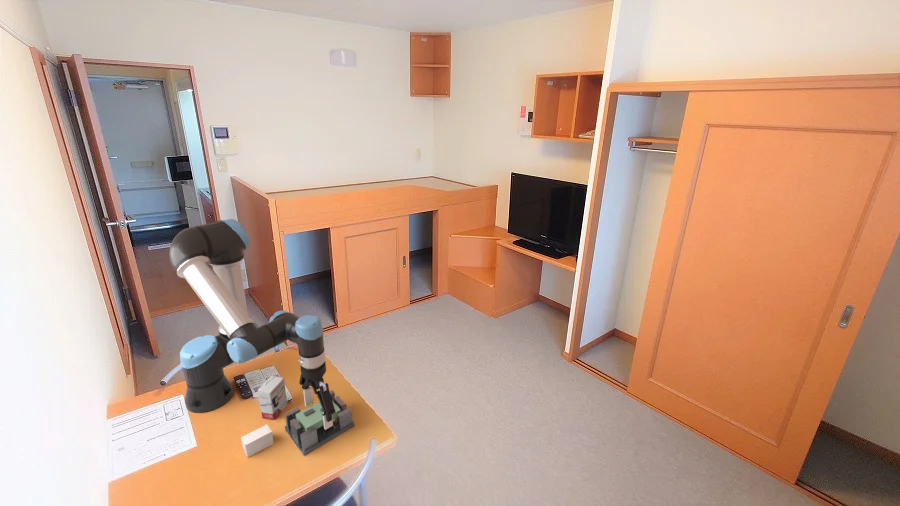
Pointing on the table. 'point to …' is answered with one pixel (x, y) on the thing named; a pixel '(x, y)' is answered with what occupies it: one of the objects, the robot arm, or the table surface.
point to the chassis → (319, 436)
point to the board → (314, 416)
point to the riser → (257, 440)
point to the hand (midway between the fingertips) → (318, 415)
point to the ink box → (272, 397)
